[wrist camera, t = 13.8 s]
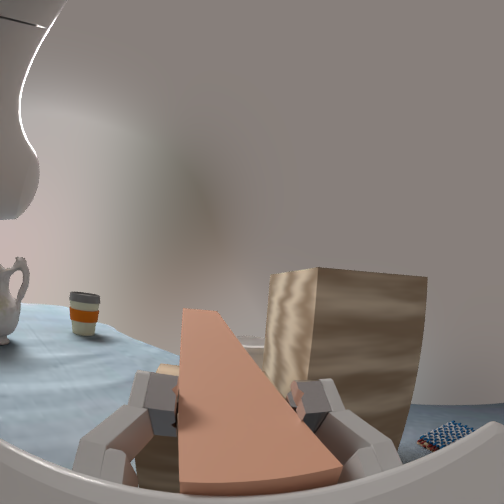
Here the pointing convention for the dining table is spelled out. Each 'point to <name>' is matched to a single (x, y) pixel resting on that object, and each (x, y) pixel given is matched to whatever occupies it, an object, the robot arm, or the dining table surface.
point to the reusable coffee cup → (84, 312)
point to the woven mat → (444, 436)
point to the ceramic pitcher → (11, 299)
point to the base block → (162, 454)
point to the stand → (349, 338)
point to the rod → (239, 421)
